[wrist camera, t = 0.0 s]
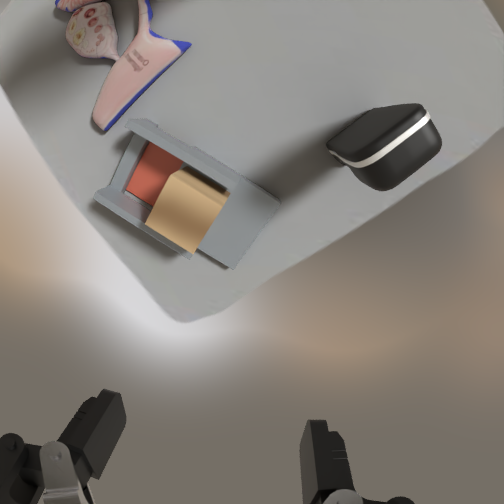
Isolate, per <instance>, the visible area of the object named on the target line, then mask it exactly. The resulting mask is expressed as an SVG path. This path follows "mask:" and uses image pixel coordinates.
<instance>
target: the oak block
mask: <svg viewBox="0 0 504 504" xmlns="http://www.w3.org/2000/svg"><path fill="white" fill-rule="evenodd" d="M230 194H231V193H230V192H228V191H226V190H225V189H223V188H222V187H220V186H218V185H217V184H215V183H214V182H212V181H210V180H209V179H207V178H206V177H204V176H202V175H201V174H199V173H197V172H196V171H194V170H193V169H191V168H189V167H188V166H186V167H184V168H182V169H180V170H178V171H176V172H175V173H173V174H171V175H170V176H169V178H168V180H167V182H166V184H165V186H164V188H163V189H162V191H161V193H160V195H159V197H158V199H157V201H156V203H155V205H154V207H153V209H152V211H151V213H150V215H149V217H148V219H147V221H146V223H145V225H147V226H149V227H150V228H152V229H153V230H155V231H157V232H158V233H160V234H161V235H163V236H165V237H166V238H168V239H169V240H171V241H173V242H174V243H176V244H177V245H179V246H181V247H182V248H184V249H185V250H187V251H189V252H190V253H192V254H194V252H195V251H196V249H197V247H198V246H199V244H200V242H201V241H202V239H203V238H204V236H205V234H206V233H207V231H208V230H209V228H210V226H211V225H212V223H213V222H214V220H215V218H216V217H217V215H218V214H219V212H220V210H221V209H222V207H223V206H224V204H225V202H226V201H227V199H228V197H229V195H230Z"/></svg>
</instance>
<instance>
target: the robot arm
mask: <svg viewBox="0 0 504 504" xmlns="http://www.w3.org/2000/svg"><path fill="white" fill-rule="evenodd" d="M125 424H126V414H125V410H124V406H123V402H122V397H121V394H120V393H117V392H114V391H110V390H107V389H103V390H102V391H101V392H100V394H99V395H98V397H97V398H95V397H91V398H89V399H88V400H86V401H85V402H83V404H82V405H81V407H80V408H79V410H78V412H76V414H75V415H74V418H72V420H71V421H70V422H69V424H68V425H67V427H66V428H65V430H64V431H63V433H62V434H61V436H60V437H59V439H58V440H57V441H51V442H48V443H45V444H44V445H43V446H38V445H32V444H26V443H24V441H23V439H22V438H21V437H20V436H19V435H17V434H14V433H8V434H5V435H3V436H2V437H1V438H0V504H37V503H38V501H39V499H40V497H41V495H42V493H43V491H44V489H45V488H46V493H44V494H43V501H44V504H95V501H94V498H93V495H92V492H91V489H90V487H89V484H88V481H89V479H90V477H93V478H96V479H98V480H99V478H100V476H101V474H102V472H103V470H104V468H105V466H106V464H107V462H108V460H109V458H110V456H111V454H112V452H113V450H114V448H115V446H116V444H117V442H118V440H119V438H120V436H121V433H122V431H123V430H124V427H125ZM347 458H348V457H347V453H346V449H345V444H344V440H343V439H342V437H341V436H340V435H339V433H338V432H336V431H332V432H329V431H328V426H327V422H326V420H308V421H307V423H306V426H305V430H304V433H303V436H302V439H301V443H300V464H301V479H302V494H303V504H414V502H413V501H411V500H410V499H409V498H406V497H395V498H392V499H390V500H389V501H388V502H379V501H372V500H367V499H365V498H363V497H361V496H360V495H359V494H358V493H357V492H356V491H355V489H354V486H353V481H352V476H351V471H350V467H349V462H348V460H347Z"/></svg>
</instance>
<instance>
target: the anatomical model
mask: <svg viewBox="0 0 504 504" xmlns="http://www.w3.org/2000/svg"><path fill="white" fill-rule="evenodd" d="M100 1H102V0H56V1H55V5H56V7H57V8H58V9H61V10H63V11H67V12H74V11H75V12H74V13H73V15H72V16H71V19H70V21H69V22H68V25H67V28H66V39H67V41H68V43H69V44H70V45H71V46H72V47H73V49H74V50H75V51H76V52H77V53H78V54H79V55H80V56H82V57H86V58H109V59H113V60H115V61H116V62H115V64H114V65H113V66H112V68H111V70H110V71H109V73H108V75H107V77H106V79H105V81H104V84H103V86H102V89H101V91H100V93H99V96H98V99H97V101H96V104H95V106H94V109H93V113H92V117H93V120H94V122H95V123H96V124H97V125H98V126H99V127H100V128H101V129H102V130H104V131H107V130H108V129H109V128H110V127H111V126H112V125H113V124H114V123H115V122H116V121H117V120H118V119H119V117H120V116H121V115H122V114H123V113H124V112H125V111H126V110H127V109H128V108H129V107H130V106H131V104H133V102H134V101H135V100H136V99H137V98H138V97H139V96H140V95H141V94H142V93H143V92H144V91H145V90H146V89H147V88H148V87H149V86H150V85H151V84H152V83H153V82H154V81H155V80H156V79H157V78H158V77H159V76H160V75H161V74H162V73H163V72H164V71H165V70H166V69H167V68H168V67H170V66H171V65H172V64H173V62H175V61H176V60H177V59H178V58H179V57H180V56H181V55H182V54H183V53H184V52H185V51H186V50H187V49H188V48H189V47H190V46H191V43H189V42H183V41H175V40H169V39H166V38H164V37H161V36H159V35H157V34H156V33H154V32H153V31H152V30H151V29H150V22H151V19H152V15H153V14H152V9H151V6H150V3H149V0H138V7H139V28H138V33H137V35H136V37H135V38H134V39H133V41H132V42H131V44H130V45H129V47H128V48H127V50H126V51H125V52H124V54H123V55H122V56H121V57H119V55H118V53H117V42H118V34H117V32H116V29H115V24H114V19H113V16H112V9H111V6H110V5H109V4H108V3H107V2H100ZM97 2H98V3H97Z"/></svg>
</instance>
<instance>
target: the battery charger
mask: <svg viewBox="0 0 504 504" xmlns="http://www.w3.org/2000/svg"><path fill="white" fill-rule="evenodd" d="M326 146H327V148H328V149H329V152H330V153H331V154H333V156H334V157H335V158H336V159H337V160H338V161H339V162H340V163H342V164H344V165H347V166H348V167H349V168H350V169H351V171H352V172H353V173H354V175H355V176H356V177H357V178H358V179H359V180H360V181H361V182H363V183H364V184H366V185H368V186H369V187H371V188H373V189H375V190H378V191H387V190H390V189H393V188H394V187H396V186H397V185H399V184H400V183H401V182H403V181H404V180H405V179H407V178H408V177H409V176H410V175H412V174H413V173H414V172H416V171H417V170H418V169H419V168H421V167H422V166H423V165H424V164H426V163H427V162H428V161H429V160H431V159H432V158H433V157H434V156H435V155H436V154H437V153H438V152H439V151H440V149H441V146H442V139H441V137H440V135H439V133H438V131H437V129H436V127H435V126H434V124H433V122H432V120H431V119H430V114H429V113H428V111H427V110H425V109H424V108H423V106H422V105H421V104H416V103H414V104H400V105H393V106H387V107H380V108H373V109H372V110H370V111H369V112H367V113H366V114H365V115H363V116H362V117H361V118H359V119H358V120H356V121H355V122H354V123H352V124H351V125H350V126H348V127H347V128H346V129H344V130H343V131H342V132H340V133H339V134H338V135H336V136H335V137H334V138H332V139H331V140H330V141H328V142H327V144H326Z"/></svg>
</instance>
